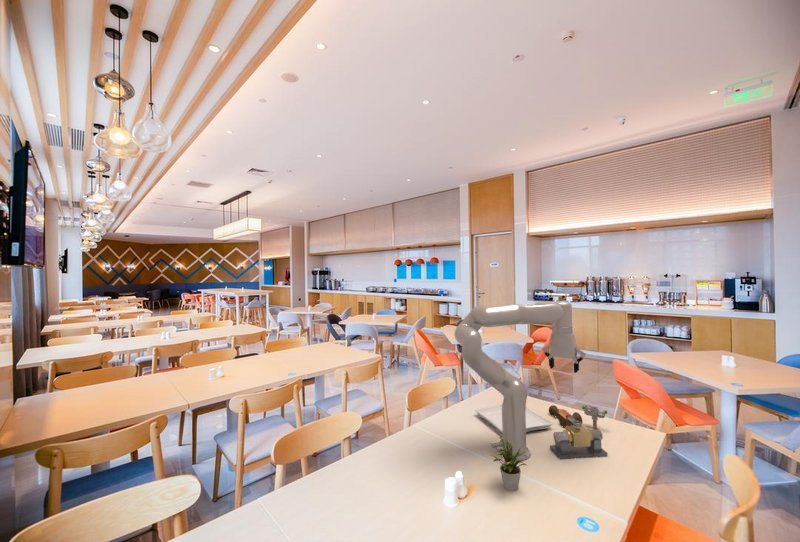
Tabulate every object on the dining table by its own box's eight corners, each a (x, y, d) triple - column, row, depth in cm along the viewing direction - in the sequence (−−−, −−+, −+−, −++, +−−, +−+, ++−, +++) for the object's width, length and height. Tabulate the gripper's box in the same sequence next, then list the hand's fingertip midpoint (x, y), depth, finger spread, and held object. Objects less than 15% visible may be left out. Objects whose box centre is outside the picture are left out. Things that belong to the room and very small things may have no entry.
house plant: (479, 477, 126) (478, 434, 126) (509, 469, 131) (508, 427, 131) (503, 502, 113) (502, 453, 113) (536, 491, 118) (535, 444, 118)
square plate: (474, 416, 179) (474, 409, 179) (518, 408, 187) (518, 401, 187) (504, 440, 153) (504, 432, 153) (554, 430, 162) (554, 422, 162)
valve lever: (583, 427, 140) (583, 422, 140) (576, 427, 140) (575, 422, 140) (564, 413, 154) (564, 408, 154) (557, 413, 154) (557, 408, 154)
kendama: (560, 414, 180) (588, 430, 160) (544, 416, 178) (571, 433, 158) (559, 402, 180) (588, 417, 160) (543, 405, 178) (570, 420, 158)
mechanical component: (607, 432, 158) (606, 411, 157) (582, 426, 164) (581, 406, 164) (607, 430, 160) (607, 409, 160) (583, 424, 166) (582, 404, 166)
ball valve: (560, 459, 137) (559, 431, 137) (550, 449, 145) (549, 422, 145) (607, 456, 138) (606, 429, 138) (594, 446, 146) (594, 420, 146)
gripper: (538, 329, 149) (540, 368, 149) (582, 333, 137) (583, 376, 137) (545, 327, 154) (546, 364, 154) (587, 331, 142) (588, 371, 142)
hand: (563, 369), depth 146 cm, fingers open, 9 cm apart
